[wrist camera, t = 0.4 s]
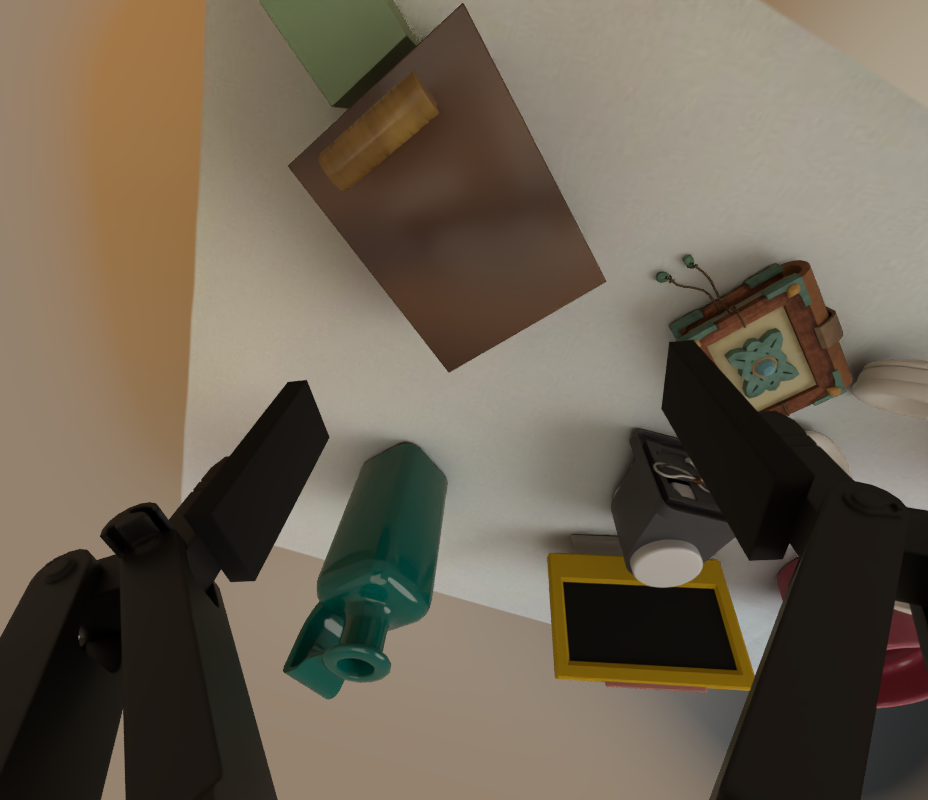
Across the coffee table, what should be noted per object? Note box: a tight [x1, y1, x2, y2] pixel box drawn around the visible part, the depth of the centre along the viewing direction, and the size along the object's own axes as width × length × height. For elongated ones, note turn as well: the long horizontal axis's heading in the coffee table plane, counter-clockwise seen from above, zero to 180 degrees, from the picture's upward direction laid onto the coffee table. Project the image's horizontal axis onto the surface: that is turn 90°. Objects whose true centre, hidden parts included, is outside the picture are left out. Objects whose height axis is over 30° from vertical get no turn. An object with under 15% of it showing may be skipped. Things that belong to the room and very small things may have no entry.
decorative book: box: [657, 255, 853, 416], centre depth 37 cm, size 13×18×5 cm
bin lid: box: [288, 3, 606, 372], centre depth 25 cm, size 16×13×6 cm
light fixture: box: [611, 429, 735, 588], centre depth 45 cm, size 11×13×11 cm
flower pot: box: [777, 558, 928, 708], centre depth 51 cm, size 14×14×13 cm
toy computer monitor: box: [547, 535, 755, 692], centre depth 50 cm, size 20×8×16 cm, turn 91°
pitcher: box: [283, 443, 448, 699], centre depth 42 cm, size 10×8×22 cm
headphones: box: [805, 359, 928, 615], centre depth 35 cm, size 7×18×20 cm, turn 155°
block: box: [259, 0, 418, 108], centre depth 27 cm, size 6×6×6 cm
